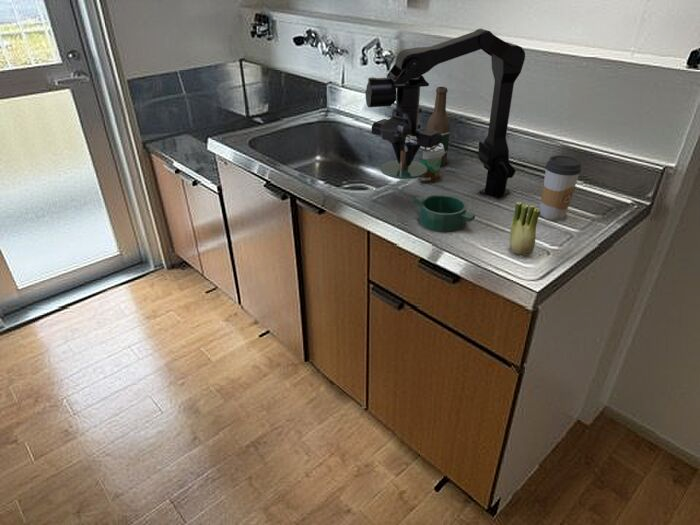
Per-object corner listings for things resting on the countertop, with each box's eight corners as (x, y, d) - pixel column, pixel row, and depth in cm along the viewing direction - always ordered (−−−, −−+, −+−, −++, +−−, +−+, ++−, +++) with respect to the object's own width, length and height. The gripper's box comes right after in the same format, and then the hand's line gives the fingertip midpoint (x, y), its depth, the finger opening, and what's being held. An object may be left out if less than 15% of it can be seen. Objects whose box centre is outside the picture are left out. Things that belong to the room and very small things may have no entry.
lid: (398, 160, 140) (399, 139, 136) (435, 170, 133) (438, 149, 129) (371, 173, 132) (371, 150, 128) (409, 184, 125) (410, 162, 122)
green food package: (441, 186, 146) (444, 153, 140) (420, 184, 147) (422, 152, 141) (442, 170, 156) (446, 140, 151) (423, 169, 157) (425, 138, 152)
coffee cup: (552, 225, 125) (566, 168, 117) (528, 212, 131) (539, 158, 123) (575, 218, 128) (590, 163, 120) (551, 205, 134) (563, 152, 126)
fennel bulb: (504, 247, 115) (513, 200, 109) (523, 245, 116) (533, 198, 110) (516, 260, 111) (526, 211, 104) (536, 257, 112) (547, 209, 105)
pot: (426, 204, 135) (428, 188, 132) (481, 223, 126) (484, 206, 123) (402, 219, 128) (403, 202, 125) (458, 240, 118) (461, 222, 116)
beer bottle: (441, 169, 157) (449, 91, 144) (419, 164, 161) (424, 88, 148) (450, 161, 163) (458, 86, 150) (428, 157, 166) (435, 83, 154)
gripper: (358, 105, 123) (357, 164, 131) (420, 118, 112) (416, 182, 121) (385, 96, 130) (383, 153, 138) (446, 108, 120) (440, 169, 128)
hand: (404, 164), depth 131 cm, fingers closed on lid, 2 cm apart
